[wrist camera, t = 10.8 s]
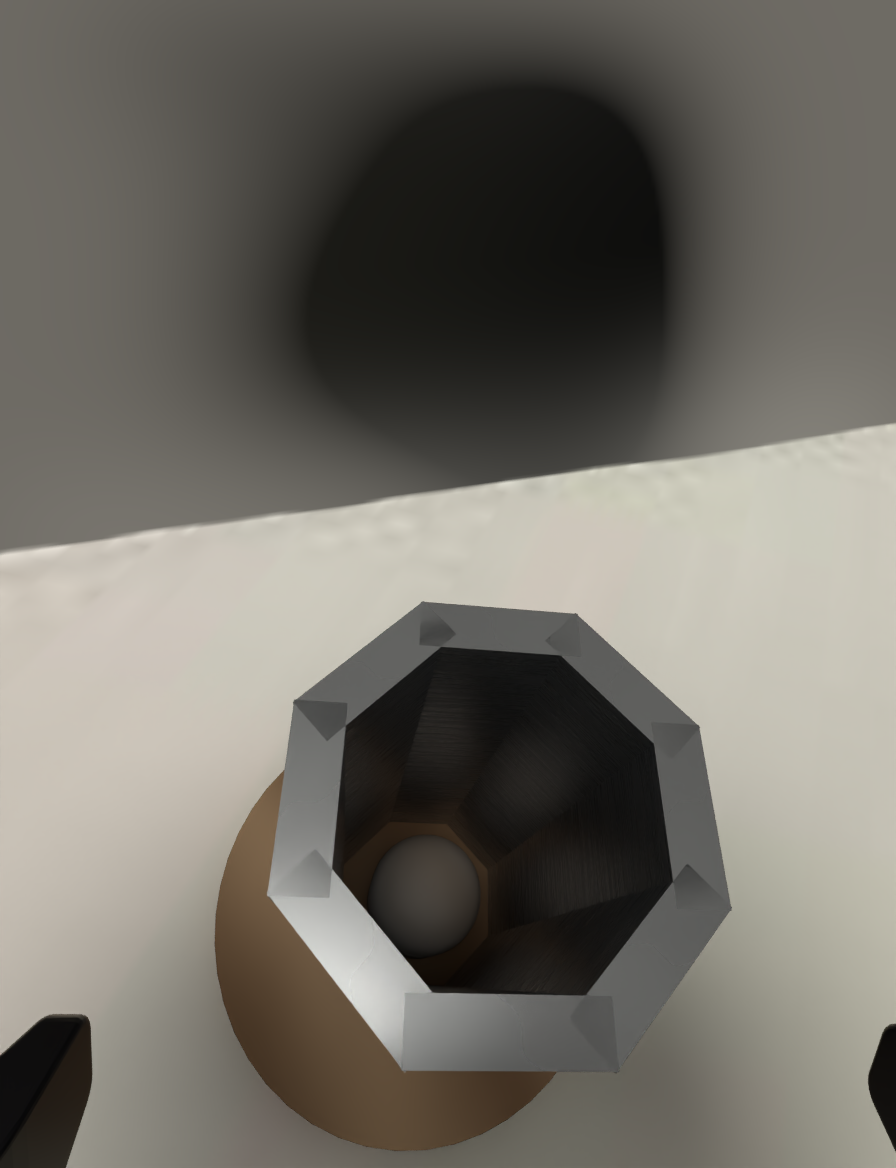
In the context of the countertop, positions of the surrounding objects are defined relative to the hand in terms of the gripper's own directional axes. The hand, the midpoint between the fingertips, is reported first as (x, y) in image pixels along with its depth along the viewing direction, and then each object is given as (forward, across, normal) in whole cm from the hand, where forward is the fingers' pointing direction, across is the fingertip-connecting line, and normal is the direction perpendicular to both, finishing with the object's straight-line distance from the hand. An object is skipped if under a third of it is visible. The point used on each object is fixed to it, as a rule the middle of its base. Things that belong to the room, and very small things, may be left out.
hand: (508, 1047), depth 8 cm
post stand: (+11, 0, +8) cm, 14 cm away
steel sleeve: (+10, 0, +7) cm, 12 cm away
